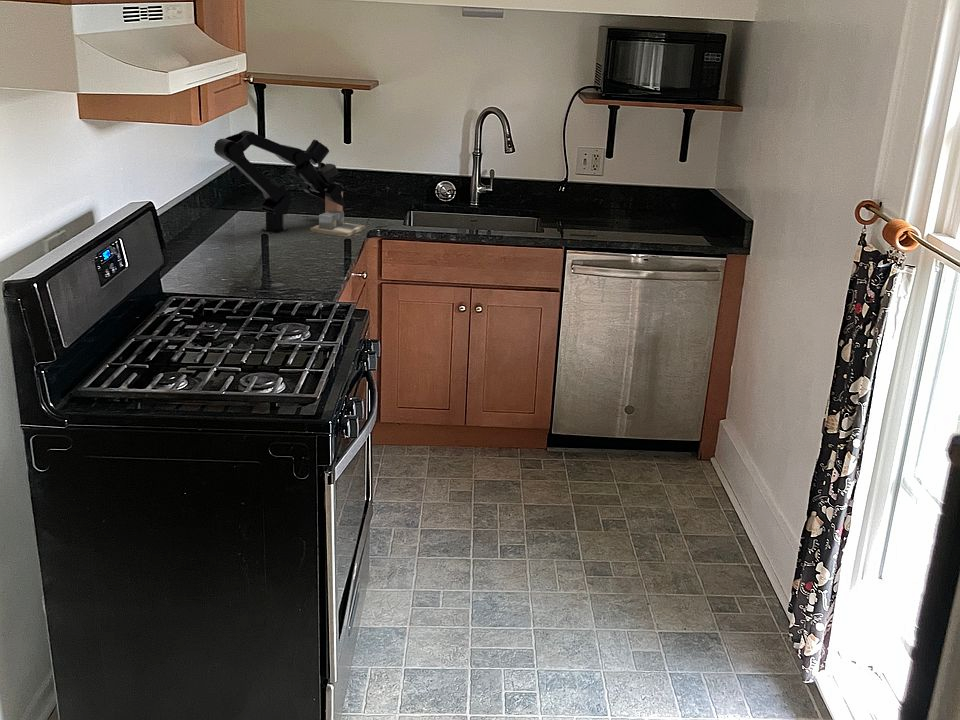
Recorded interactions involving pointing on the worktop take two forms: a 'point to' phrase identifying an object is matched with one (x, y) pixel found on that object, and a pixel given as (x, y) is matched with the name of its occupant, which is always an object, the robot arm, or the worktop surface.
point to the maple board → (339, 230)
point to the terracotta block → (332, 205)
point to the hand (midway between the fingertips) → (336, 202)
